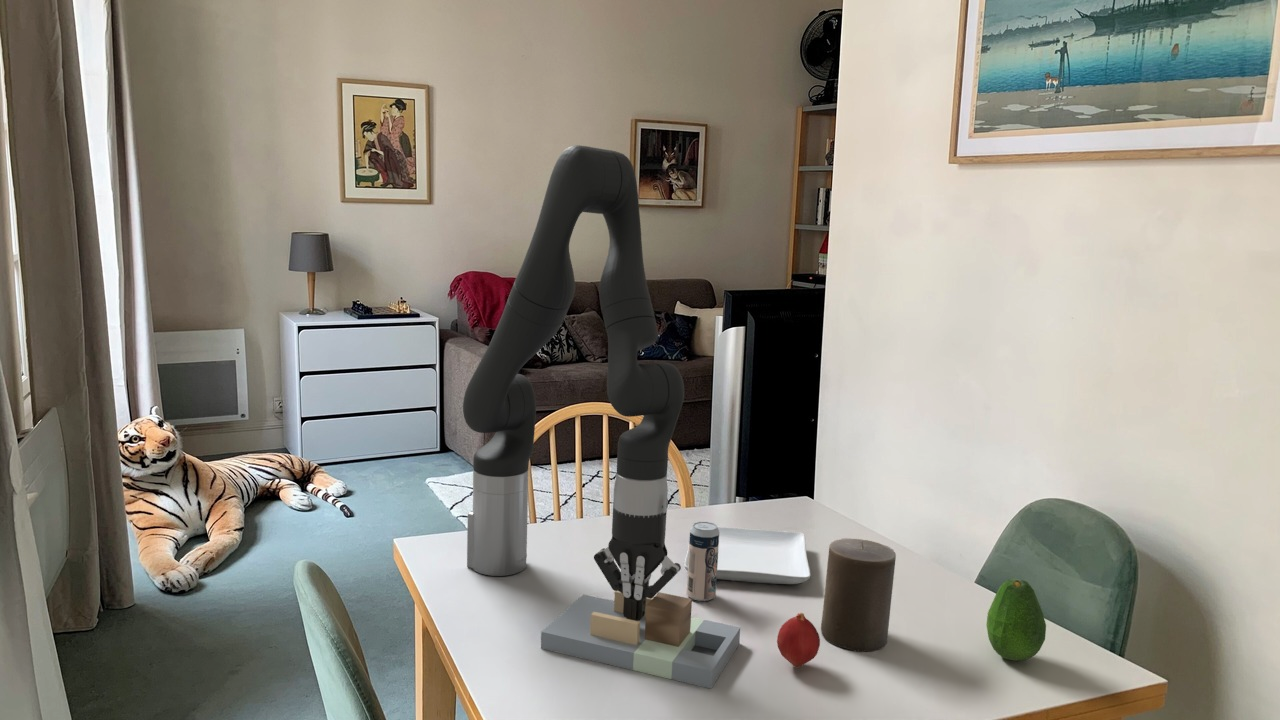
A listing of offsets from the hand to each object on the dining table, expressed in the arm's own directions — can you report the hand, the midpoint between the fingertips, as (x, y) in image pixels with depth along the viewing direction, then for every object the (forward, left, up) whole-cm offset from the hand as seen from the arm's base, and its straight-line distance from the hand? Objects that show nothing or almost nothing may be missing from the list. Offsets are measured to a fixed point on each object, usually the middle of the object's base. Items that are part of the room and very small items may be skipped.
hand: (634, 620), depth 131 cm
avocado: (+51, +20, -4) cm, 55 cm away
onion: (+23, +4, -4) cm, 23 cm away
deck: (+2, 0, -4) cm, 4 cm away
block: (+5, 0, -1) cm, 5 cm away
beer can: (+4, +20, -4) cm, 21 cm away
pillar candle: (+29, +17, -4) cm, 34 cm away
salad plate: (+7, +37, -4) cm, 38 cm away
